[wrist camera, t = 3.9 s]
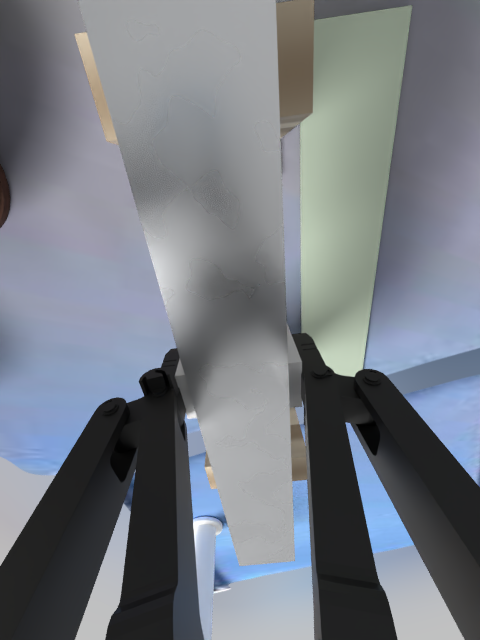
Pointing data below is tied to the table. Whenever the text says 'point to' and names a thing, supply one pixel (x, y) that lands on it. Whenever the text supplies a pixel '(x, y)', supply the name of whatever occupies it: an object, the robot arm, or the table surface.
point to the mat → (347, 175)
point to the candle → (205, 567)
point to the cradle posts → (294, 108)
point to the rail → (213, 229)
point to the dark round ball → (4, 197)
